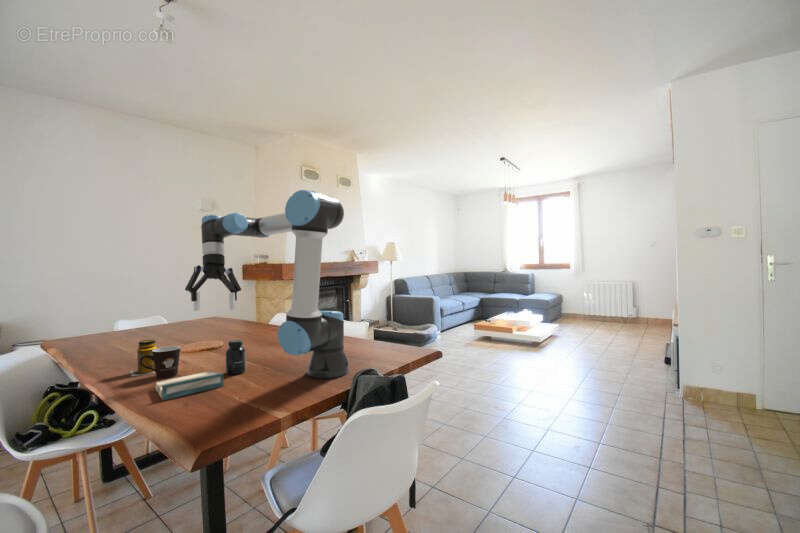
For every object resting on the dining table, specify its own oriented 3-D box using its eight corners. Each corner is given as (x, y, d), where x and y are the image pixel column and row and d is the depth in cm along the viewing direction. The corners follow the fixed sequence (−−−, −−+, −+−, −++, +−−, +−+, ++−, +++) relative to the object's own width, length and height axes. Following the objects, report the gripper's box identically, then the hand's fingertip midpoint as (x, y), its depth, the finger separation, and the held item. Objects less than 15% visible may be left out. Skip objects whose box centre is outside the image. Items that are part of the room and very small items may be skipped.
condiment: (159, 371, 134) (159, 340, 133) (132, 377, 128) (131, 344, 128) (156, 367, 139) (155, 338, 139) (129, 372, 133) (128, 341, 133)
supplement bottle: (237, 375, 127) (237, 343, 127) (221, 374, 128) (221, 342, 128) (249, 370, 134) (249, 339, 134) (234, 369, 135) (233, 338, 135)
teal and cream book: (223, 386, 116) (223, 373, 116) (163, 400, 104) (162, 386, 104) (212, 377, 126) (212, 365, 126) (155, 389, 114) (155, 376, 114)
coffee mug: (183, 371, 134) (183, 345, 134) (177, 378, 126) (176, 350, 126) (148, 374, 130) (147, 348, 130) (138, 381, 122) (138, 353, 122)
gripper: (237, 260, 147) (240, 310, 143) (173, 253, 126) (174, 312, 122) (248, 256, 143) (251, 307, 139) (184, 249, 122) (185, 309, 118)
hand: (215, 309), depth 131 cm, fingers open, 13 cm apart
